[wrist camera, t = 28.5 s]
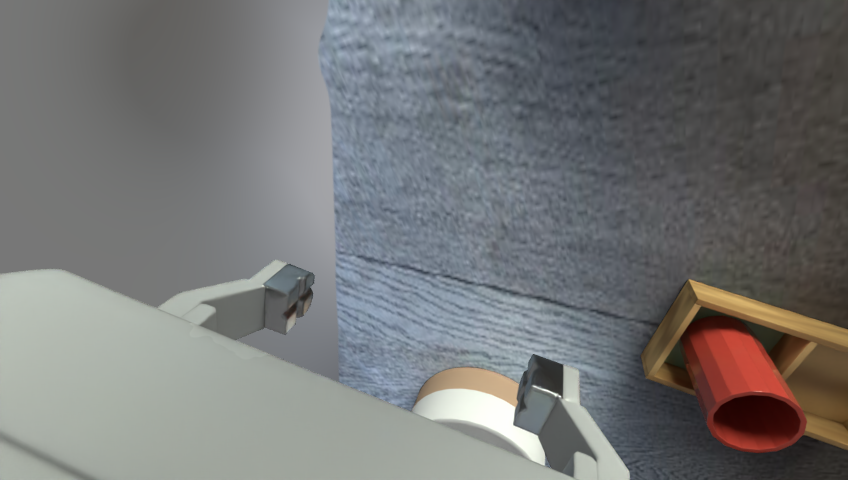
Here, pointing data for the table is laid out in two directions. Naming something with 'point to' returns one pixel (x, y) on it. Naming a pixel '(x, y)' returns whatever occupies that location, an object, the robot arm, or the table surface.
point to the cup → (740, 387)
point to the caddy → (784, 343)
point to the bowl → (478, 409)
